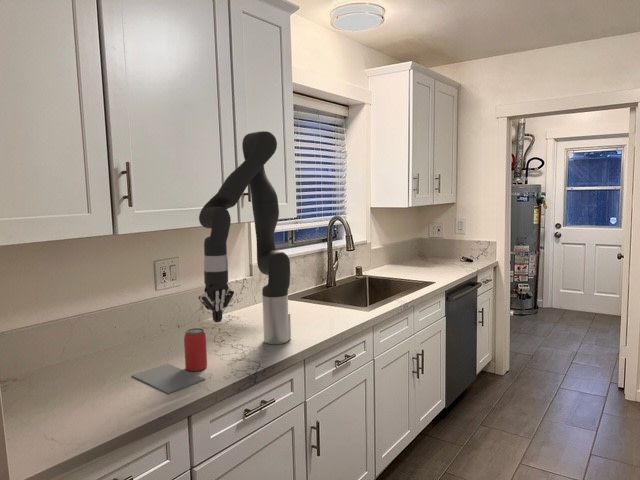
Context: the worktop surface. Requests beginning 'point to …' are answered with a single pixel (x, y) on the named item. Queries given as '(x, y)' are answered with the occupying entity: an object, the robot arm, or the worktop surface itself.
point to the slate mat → (168, 378)
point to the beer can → (195, 349)
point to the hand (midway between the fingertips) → (217, 321)
